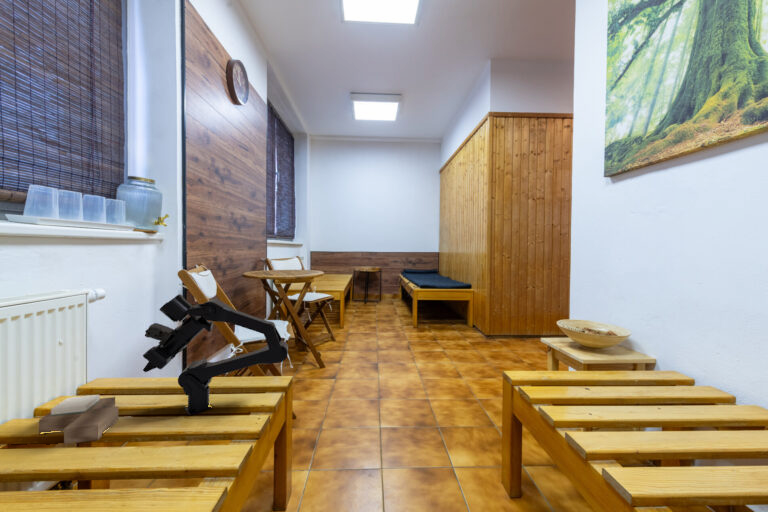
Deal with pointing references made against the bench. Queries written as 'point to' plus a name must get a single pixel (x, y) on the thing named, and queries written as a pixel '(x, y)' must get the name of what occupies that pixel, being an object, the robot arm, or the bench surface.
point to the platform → (83, 422)
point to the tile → (75, 405)
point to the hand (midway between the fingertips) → (144, 370)
